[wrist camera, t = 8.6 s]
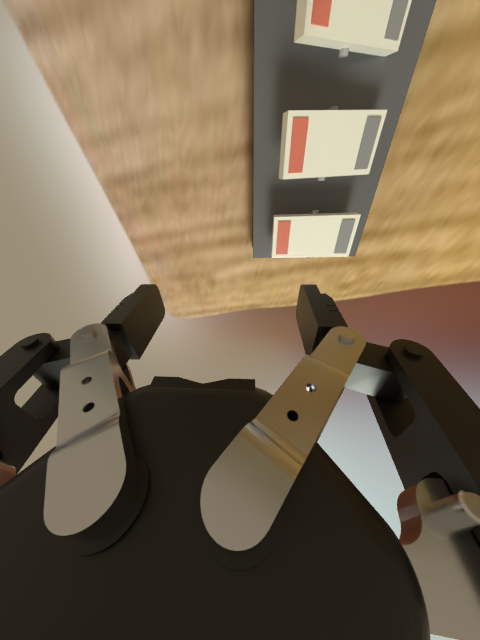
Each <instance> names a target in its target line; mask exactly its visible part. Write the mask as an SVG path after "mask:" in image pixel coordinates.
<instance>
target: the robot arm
mask: <svg viewBox="0 0 480 640" xmlns="http://www.w3.org/2000/svg"><path fill="white" fill-rule="evenodd" d="M164 315H165V308H164V305H163V301H162V298H161V295H160V292H159V289H158V287H157V285H155V284H148V285H147V284H144V285H143V284H142V285H140V286H139V287H138V288H137V289H136V291H135V292H134V293H132V294H130V295H129V296H127V297H125V298H124V299H123V300H122V301H121V302H120V303H119V305H118V306H117V307H116V308H115V309H114V310H113V311H112V312H111V313H110V314H109V315H108V316H107V317H106V318H105V319H104V320H103V321H102V322H101V323H100V324H91V325H88V326H85V327H83V328H81V329H79V330H78V331H76V332H75V333H74V334H73V335H72V337H71V339H66V340H61V341H55V340H54V339H53V337H52V336H51V335H50V334H48V333H40V334H35V335H32V336H29V337H27V338H25V339H23V340H21V341H19V342H18V343H16V344H15V345H14V346H13V347H11V348H10V349H9V350H8V351H6V352H5V353H4V354H3V355H1V356H0V640H430V634H435V635H440V636H444V637H449V638H454V639H459V640H480V409H479V408H478V406H477V405H476V404H475V403H474V401H473V400H472V399H471V398H470V397H469V396H468V394H467V393H466V392H465V391H464V390H463V388H462V387H461V386H460V385H459V384H458V382H457V381H456V380H455V379H454V378H453V376H452V375H451V374H450V373H449V372H448V371H447V369H446V368H445V367H444V366H443V364H442V363H441V362H440V361H439V360H438V359H437V357H436V356H435V355H434V354H433V353H432V352H431V351H430V350H429V349H428V348H426V347H425V346H423V345H421V344H419V343H416V342H413V341H410V340H404V339H403V340H402V339H399V340H395V341H393V342H392V343H391V344H390V346H389V347H384V346H380V345H376V344H372V343H368V342H366V339H365V337H364V336H363V335H362V334H361V333H359V332H358V331H356V330H354V329H352V328H349V327H348V326H347V324H346V322H345V320H344V318H343V317H342V315H341V313H340V312H339V310H338V308H337V306H336V304H335V302H334V301H333V299H332V298H331V297H329V296H328V295H327V294H320V292H319V289H318V287H317V285H301V286H300V291H299V297H298V302H297V309H296V318H297V323H298V327H299V331H300V334H301V338H302V342H303V346H304V349H305V353H306V355H305V356H304V357H303V358H302V360H301V361H300V362H299V363H298V365H297V366H296V367H295V369H294V370H293V371H292V372H291V374H290V375H289V376H288V377H287V379H286V380H285V381H284V382H283V384H282V385H281V386H280V388H279V389H278V390H277V391H276V393H275V394H274V395H272V394H270V393H268V392H267V391H264V390H262V389H259V388H256V387H255V379H225V380H220V381H216V382H211V383H204V384H201V383H197V382H194V381H190V380H187V379H183V378H180V377H157V376H155V377H154V378H153V381H152V383H151V385H147V386H144V387H141V388H138V389H136V388H135V385H134V381H133V378H132V374H131V371H130V368H129V365H128V364H127V362H128V360H129V359H140V357H141V356H142V354H143V353H144V351H145V349H146V347H147V346H148V344H149V342H150V341H151V339H152V337H153V335H154V334H155V332H156V330H157V328H158V327H159V325H160V323H161V322H162V320H163V318H164ZM32 375H33V376H35V378H36V379H38V380H39V381H40V382H41V383H42V385H41V386H40V387H39V388H38V389H37V391H36V392H35V393H34V394H33V395H32V397H31V398H30V399H29V400H28V401H27V402H26V403H25V404H24V405H23V406H22V408H20V407H19V406H17V405H16V404H15V401H14V397H15V394H16V392H17V391H18V390H19V389H20V388H21V387H22V385H24V384H25V382H27V380H28V379H29V378H30V377H31V376H32ZM344 388H348V389H351V390H354V391H358V392H361V393H365V394H366V395H367V397H368V400H369V402H370V405H371V407H372V409H373V412H374V415H375V417H376V420H377V422H378V424H379V427H380V429H381V432H382V434H383V437H384V439H385V442H386V444H387V447H388V449H389V452H390V454H391V456H392V459H393V461H394V464H395V466H396V469H397V471H398V474H399V476H400V479H401V481H402V483H403V486H404V489H405V490H404V491H403V492H401V493H400V495H399V497H398V500H397V510H398V514H399V518H400V522H401V535H400V539H398V538H397V536H396V535H395V533H394V532H393V530H392V529H391V528H390V526H389V525H388V524H387V523H386V522H385V520H384V519H383V518H382V517H381V516H380V514H379V513H378V512H377V511H376V510H375V509H374V507H372V505H371V504H370V503H369V502H368V501H367V499H366V498H365V497H364V496H363V495H362V494H361V493H360V491H359V490H358V489H357V488H356V487H355V486H354V484H353V483H352V482H351V481H350V480H349V479H348V478H347V476H346V475H345V474H344V473H343V472H342V471H341V469H340V468H339V467H338V466H337V465H336V464H335V463H334V461H333V460H332V459H331V458H330V457H329V456H328V454H327V453H326V452H325V451H324V450H323V449H322V448H321V446H320V445H319V444H318V443H317V441H318V439H319V437H320V435H321V433H322V431H323V429H324V427H325V425H326V423H327V421H328V419H329V417H330V415H331V413H332V411H333V409H334V408H335V406H336V404H337V402H338V400H339V398H340V396H341V394H342V392H343V390H344ZM57 417H58V429H57V445H56V447H54V448H53V449H51V450H50V451H48V452H47V453H46V454H44V455H43V456H42V457H40V458H39V459H38V460H36V461H35V462H34V463H32V464H31V465H29V466H28V467H27V468H25V469H24V470H23V471H21V472H20V473H19V474H17V473H18V472H19V471H20V469H21V468H22V466H23V465H24V463H25V462H26V461H27V459H28V458H29V457H30V455H31V454H32V452H33V451H34V450H35V448H36V447H37V445H38V444H39V442H40V441H41V440H42V438H43V437H44V435H45V434H46V433H47V431H48V430H49V428H50V427H51V426H52V424H53V423H54V421H55V420H56V419H57Z"/></svg>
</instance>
